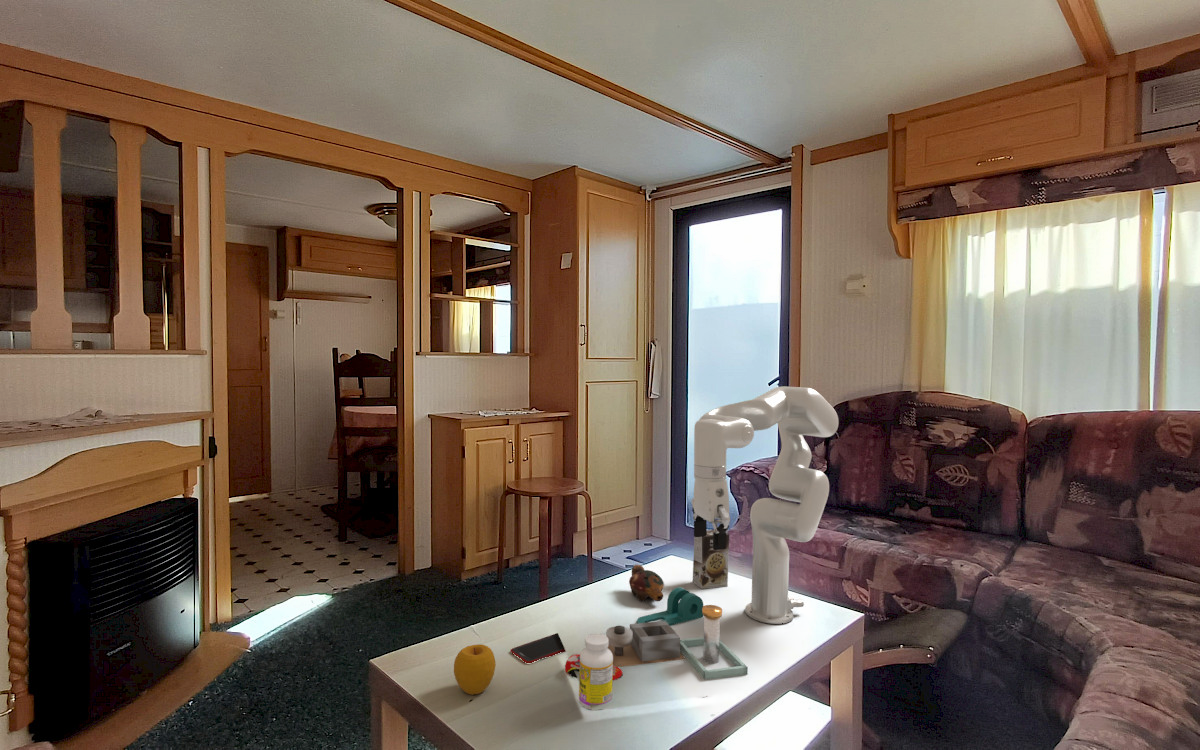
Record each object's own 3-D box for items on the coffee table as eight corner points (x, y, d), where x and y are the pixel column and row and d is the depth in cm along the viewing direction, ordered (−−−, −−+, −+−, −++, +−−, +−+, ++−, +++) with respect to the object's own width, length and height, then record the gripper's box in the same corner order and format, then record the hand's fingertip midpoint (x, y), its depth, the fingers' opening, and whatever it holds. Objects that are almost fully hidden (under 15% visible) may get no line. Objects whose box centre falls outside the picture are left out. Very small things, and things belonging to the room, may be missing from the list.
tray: (715, 648, 144) (716, 635, 144) (747, 680, 130) (747, 667, 130) (677, 652, 141) (677, 640, 141) (704, 686, 127) (705, 672, 127)
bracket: (686, 613, 164) (687, 585, 164) (702, 623, 158) (703, 593, 158) (631, 627, 155) (632, 597, 154) (647, 638, 149) (647, 606, 149)
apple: (473, 674, 129) (474, 633, 129) (504, 686, 125) (505, 644, 125) (444, 693, 122) (445, 650, 122) (476, 706, 118) (477, 661, 118)
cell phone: (579, 647, 143) (579, 643, 143) (527, 666, 134) (527, 662, 134) (559, 635, 149) (560, 632, 149) (508, 653, 140) (509, 649, 140)
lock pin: (715, 656, 138) (716, 604, 138) (724, 666, 134) (725, 612, 134) (697, 658, 137) (699, 605, 137) (706, 668, 133) (707, 613, 133)
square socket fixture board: (667, 643, 146) (668, 612, 146) (685, 665, 135) (686, 632, 135) (599, 650, 142) (600, 618, 141) (612, 674, 131) (613, 640, 131)
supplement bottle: (577, 693, 123) (579, 631, 123) (610, 692, 124) (611, 630, 123) (579, 712, 116) (581, 647, 116) (613, 711, 117) (615, 646, 117)
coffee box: (702, 589, 181) (703, 536, 181) (691, 581, 187) (693, 530, 187) (728, 586, 184) (730, 534, 184) (717, 579, 190) (719, 528, 190)
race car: (627, 679, 130) (628, 661, 129) (616, 691, 125) (617, 672, 125) (574, 663, 136) (574, 646, 135) (561, 674, 131) (562, 656, 131)
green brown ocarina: (643, 585, 183) (646, 560, 182) (674, 607, 170) (677, 579, 169) (617, 589, 178) (619, 563, 178) (646, 612, 165) (649, 583, 165)
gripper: (743, 478, 136) (742, 553, 137) (707, 463, 152) (706, 530, 153) (713, 480, 133) (712, 556, 134) (680, 465, 150) (679, 533, 151)
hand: (709, 542), depth 144 cm, fingers open, 9 cm apart
